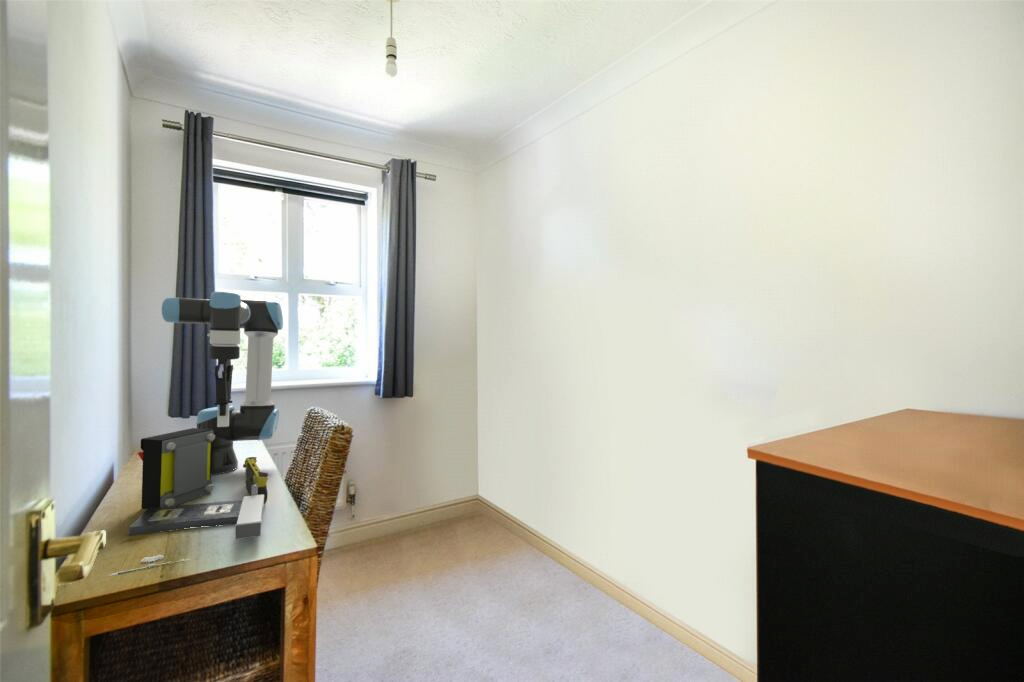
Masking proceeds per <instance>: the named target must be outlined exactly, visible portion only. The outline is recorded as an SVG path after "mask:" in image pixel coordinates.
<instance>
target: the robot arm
mask: <svg viewBox="0 0 1024 682" xmlns="http://www.w3.org/2000/svg"><path fill="white" fill-rule="evenodd" d="M161 316H162V319H163V320H164V321H165V322H167V323H174V324H206V325H208V324H209V333H207V337H209V344H211V345H210V346H209V347H208V348H209V350H208V351H209V352H208V353H209V354H208V358H209V359H210V360H217V365H215V367H214V369H215V370H214V377H215V378H214V379H215V400H216V401H215V402H214V405H216V406H214V407H209V408H205V409H202V410H200V411H199V412H198V413H197V418H196V423H195V424H196V428H199V429H212V430H213V434H214V435H215V439H214V440H213V441H212V460H211V474H212V475H218V474H219V473H220V474H224V473H223V472H225V473H229V472H232V471H231V470H233V469H235V468H237V467H238V468H239V461H238V458H237V455H236V452H235V449H234V442H235V441H236V442H238V441H239V442H240V441H241V442H242V441H243V442H245V441H266V440H270V439H272V438H273V437H275V434H276V431H277V429H278V425H279V419H280V410H279V408H276V404H275V403H274V402H273V401H272V397H271V395H272V377H273V374H272V372H273V353H274V351H273V350H274V338H276V337H277V336H278V335H279V331H281V330H283V327H284V326H283V324H284V321H283V312H282V307H281V304H280V302H279V301H278V300H275V299H268V298H244V297H241V295H240V293H238V292H234V291H233V292H231V291H213V292H211V294H210V298H209V299H208V298H207V299H206V298H205V299H204V298H191V297H190V298H189V297H188V298H187V297H179V296H178V297H166V298H165V299H164V300H163V302H162V304H161ZM241 329H243V333H244V335H245V336H246V337H247V338H248V340H247V356H246V357H247V358H246V378H245V379H246V381H245V398H244V401H243V402H242V403H241V404H240V407H239V409H236V408H235V405H230V404H233V400H231V399H232V382H233V381H232V379H233V370H234V364H232V360H238V359H240V355H241V354H240V351H241V350H240V349H241V348H240V346H239V345H240V344H241ZM238 468H237V469H238ZM235 470H236V469H235ZM228 471H229V472H228ZM233 471H234V470H233Z"/></svg>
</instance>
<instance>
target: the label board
mask: <svg viewBox="0 0 1024 682" xmlns="http://www.w3.org/2000/svg"><path fill="white" fill-rule="evenodd" d="M253 495H258V485H257V484H255V485H251V496H253ZM242 501H243V499H238V500H237V499H236V500H227V501H214V502H213V501H212V502H205V503H203V502H202V503H191V504H181V505H180V504H177V505H174V506H167V507H156V508H148V509H147V510H146V509H145V511H144V512H143V513H142V514H141V515H140V516H138V518H136V520H135V521H133V522H132V523H131V524H130V526H128V536H134V535H135V534H136V535H144V533H146V534H154V532H155V533H161V532H160V531H165V532H170V531H169V530H175V531H177V530H176V529H184V528H190V527H201V526H213V527H220V526H219V525H223V526H233V525H236V524H237V521H238V517H239V513H240V509H241V505H242ZM216 525H217V526H216ZM184 530H185V529H184ZM136 535H135V536H136Z"/></svg>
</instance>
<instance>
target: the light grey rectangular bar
mask: <svg viewBox="0 0 1024 682" xmlns="http://www.w3.org/2000/svg"><path fill="white" fill-rule="evenodd" d="M242 500H243V501H242V505H241V509H240V513H239V517H238V521H237V524H235V533H234V534H235V537H234V540H239V539H240V540H241V539H248V538H255V537H260V536H261V530H262V520H263V515H264V507H265V506H264V505H265V504H264V494H263V495H253V496H250V495H245V496H243V498H242Z"/></svg>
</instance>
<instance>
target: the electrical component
mask: <svg viewBox="0 0 1024 682" xmlns="http://www.w3.org/2000/svg"><path fill="white" fill-rule="evenodd" d="M214 439H215V435H214V434H213V430H212V429H199V428H197V427H196V428H195V427H192V428H187V429H183V430H177V431H172V432H168V433H163V434H158V435H153V436H148V437H143V438H141V439H140V446H139V447H140V449H141V451H138V452H137V455H138V457H139V458H140V459H141V461H142V475H141V476H142V477H141V479H142V480H141V510H146V509H148V508H156V507H167V506H178V505H180V504H182V503H186V502H188V501H190V500H193V499H196V498H199V497H201V496H204V495H207V494H209V493H211V492H213V490H214V485H213V481H212V475H211V460H212V441H213V440H214Z"/></svg>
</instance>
